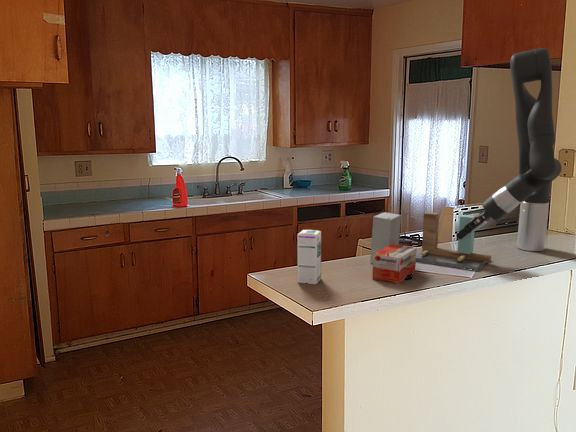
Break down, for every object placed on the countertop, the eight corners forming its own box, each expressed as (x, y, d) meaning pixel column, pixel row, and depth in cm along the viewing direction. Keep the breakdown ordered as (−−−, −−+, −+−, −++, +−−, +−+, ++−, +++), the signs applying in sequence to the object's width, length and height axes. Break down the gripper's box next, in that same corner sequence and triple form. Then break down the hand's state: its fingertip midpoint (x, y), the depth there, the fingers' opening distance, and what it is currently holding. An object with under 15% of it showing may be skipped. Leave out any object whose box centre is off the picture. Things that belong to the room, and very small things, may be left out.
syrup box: (316, 284, 152) (317, 234, 149) (296, 282, 153) (297, 232, 151) (321, 279, 157) (322, 230, 155) (301, 277, 159) (302, 228, 156)
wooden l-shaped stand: (425, 250, 187) (427, 211, 185) (491, 259, 175) (494, 218, 173) (416, 255, 180) (418, 215, 177) (484, 265, 168) (488, 223, 166)
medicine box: (398, 284, 153) (399, 257, 152) (371, 280, 157) (372, 253, 156) (416, 272, 166) (417, 246, 164) (391, 267, 170) (392, 243, 168)
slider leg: (460, 254, 181) (463, 214, 178) (472, 256, 178) (475, 215, 176) (452, 260, 173) (455, 218, 171) (465, 261, 171) (468, 220, 169)
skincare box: (380, 258, 181) (382, 211, 178) (400, 261, 177) (402, 214, 174) (368, 263, 174) (370, 215, 171) (389, 267, 170) (391, 217, 167)
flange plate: (427, 251, 191) (428, 247, 191) (489, 260, 180) (489, 256, 179) (411, 260, 178) (411, 256, 177) (477, 271, 166) (477, 266, 166)
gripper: (498, 191, 176) (458, 223, 184) (488, 196, 164) (446, 230, 173) (514, 209, 174) (473, 240, 183) (505, 215, 162) (461, 249, 171)
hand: (460, 235), depth 178 cm, fingers closed on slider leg, 4 cm apart
